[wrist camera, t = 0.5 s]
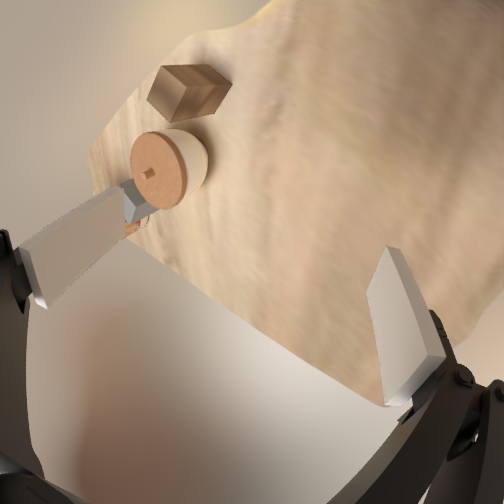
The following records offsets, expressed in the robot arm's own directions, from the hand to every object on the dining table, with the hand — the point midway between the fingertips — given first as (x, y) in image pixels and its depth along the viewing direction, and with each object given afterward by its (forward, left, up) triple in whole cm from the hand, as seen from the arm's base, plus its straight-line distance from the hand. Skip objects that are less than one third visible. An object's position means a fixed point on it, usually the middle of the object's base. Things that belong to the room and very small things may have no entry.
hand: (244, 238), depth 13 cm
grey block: (+27, -19, -21) cm, 39 cm away
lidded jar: (+17, -16, -21) cm, 31 cm away
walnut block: (+6, -19, -21) cm, 29 cm away
